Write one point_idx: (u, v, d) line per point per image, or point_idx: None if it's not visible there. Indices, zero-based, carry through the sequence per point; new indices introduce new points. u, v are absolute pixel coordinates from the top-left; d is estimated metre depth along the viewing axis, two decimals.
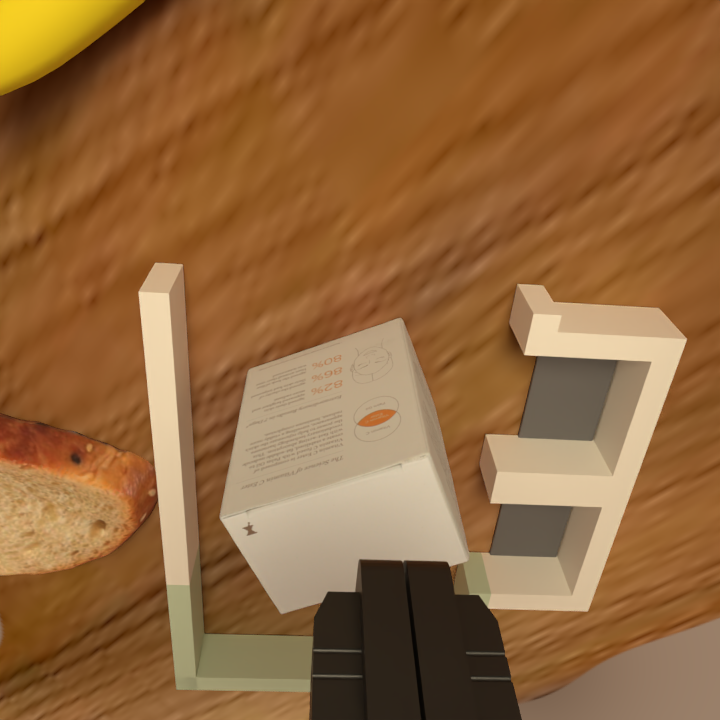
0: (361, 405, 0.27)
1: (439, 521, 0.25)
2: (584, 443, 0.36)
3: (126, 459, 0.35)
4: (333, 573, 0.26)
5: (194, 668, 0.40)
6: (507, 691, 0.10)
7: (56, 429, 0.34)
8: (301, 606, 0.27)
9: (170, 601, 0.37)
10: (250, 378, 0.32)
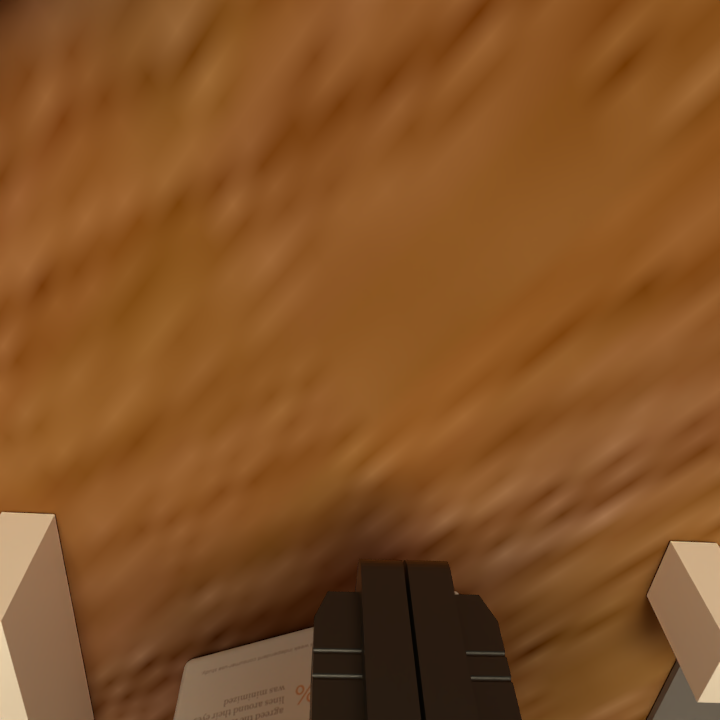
0: None
1: None
2: None
3: None
4: None
5: None
6: (507, 691, 0.10)
7: None
8: None
9: None
10: (186, 694, 0.18)
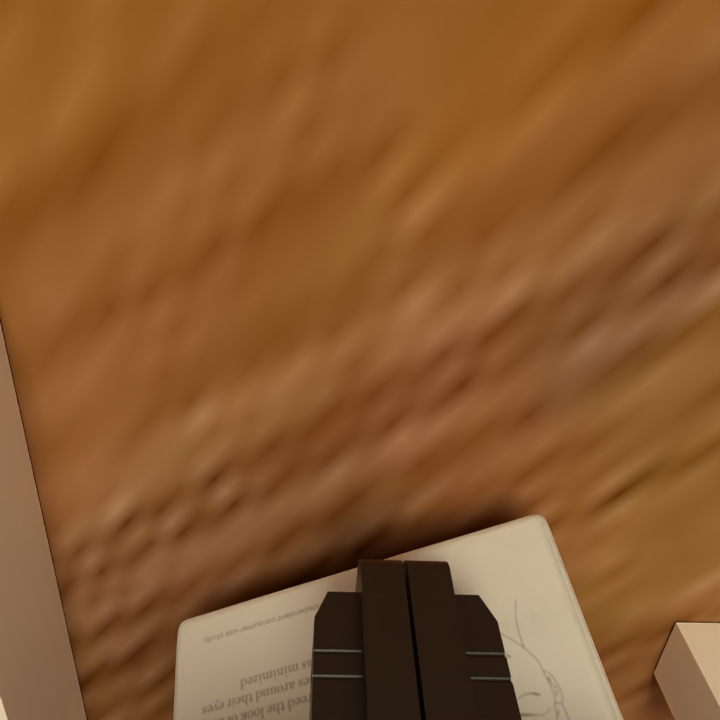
0: None
1: None
2: None
3: None
4: None
5: None
6: (507, 691, 0.10)
7: None
8: None
9: None
10: (186, 671, 0.13)
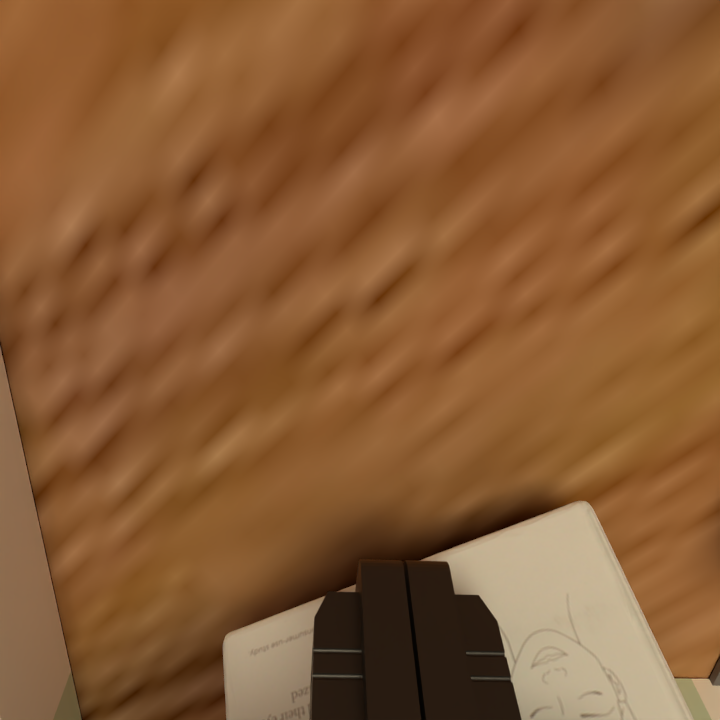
0: None
1: None
2: None
3: None
4: None
5: None
6: (507, 691, 0.10)
7: None
8: None
9: None
10: (235, 686, 0.13)
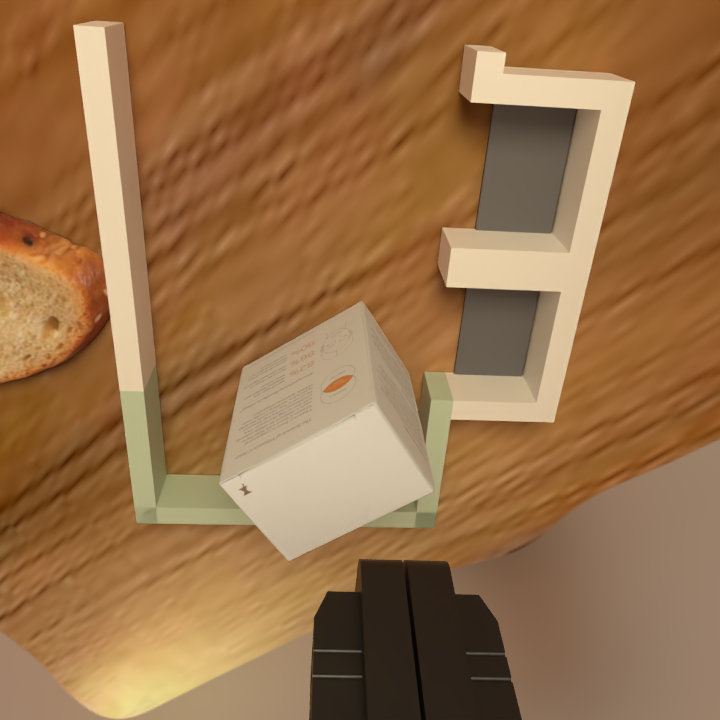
0: (327, 377, 0.32)
1: (398, 459, 0.29)
2: (542, 234, 0.35)
3: (80, 251, 0.34)
4: (322, 518, 0.30)
5: (153, 496, 0.39)
6: (507, 691, 0.10)
7: None
8: (303, 552, 0.31)
9: (125, 411, 0.36)
10: (243, 374, 0.37)
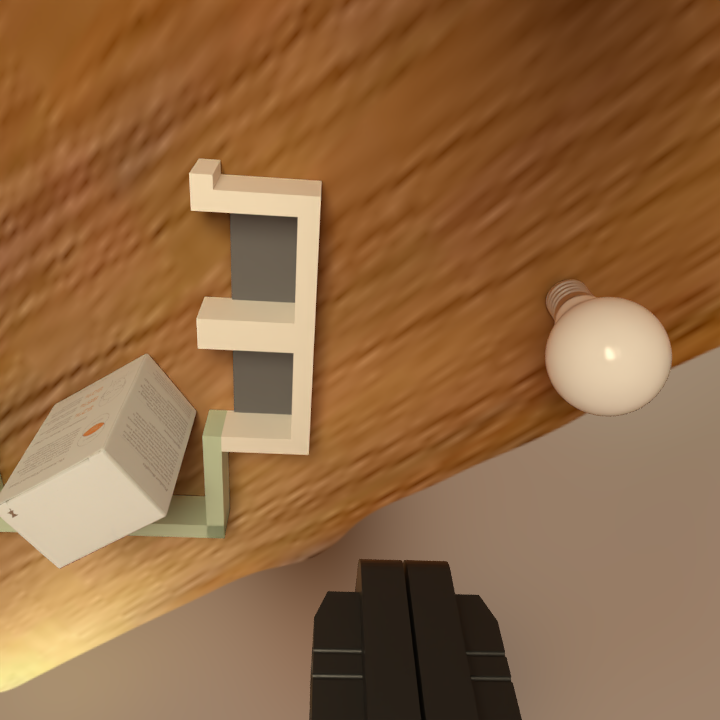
0: (91, 422, 0.40)
1: (130, 492, 0.37)
2: (286, 304, 0.43)
3: None
4: (78, 536, 0.38)
5: None
6: (507, 691, 0.10)
7: None
8: (69, 562, 0.39)
9: None
10: (51, 411, 0.45)
